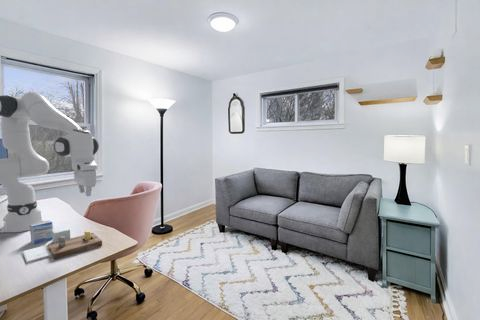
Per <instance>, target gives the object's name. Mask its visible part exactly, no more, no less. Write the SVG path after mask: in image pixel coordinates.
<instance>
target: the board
mask: <svg viewBox="0 0 480 320" xmlns="http://www.w3.org/2000/svg"><path fill="white" fill-rule="evenodd" d="M101 246H103V241H102V238H100V237H98V236H97V235H96V234H95V233H94V232H91V240H88V241H85V234H84V235H79V236H75V237H70V239H67V240H65V236H61V237H59V238H58V242H55V243H53V242H52V243H48V244H47V247H48V249H49V250H50V252H51V254H52V256H51V257H52V258H53V260H59V259H61V258H66V257H69V256H71V255H74V254H78V253H81V252H85V251H88V250H91V249H95V248H98V247H101Z"/></svg>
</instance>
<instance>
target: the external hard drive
mask: <svg viewBox="0 0 480 320" xmlns="http://www.w3.org/2000/svg"><path fill="white" fill-rule="evenodd" d="M22 255H23V257H25V258H24V259H25V262H26V264H27V263H28V264H31V263H33V262H38V261H40V259H41V260H44V258H45V259H47V257H48V258H51V257H53V256H52V254H51V252H50V250H49V249H48V245H46V244H45V245H41V246H38V247H33V248H30V249H26V250H23V251H22ZM37 260H38V261H37ZM30 262H31V263H30Z"/></svg>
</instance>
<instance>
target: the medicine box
mask: <svg viewBox="0 0 480 320" xmlns="http://www.w3.org/2000/svg"><path fill="white" fill-rule="evenodd" d="M53 226H54V225H53V221H52V220H44V222H40V223H35V224H31V225H30V230H29V232H30V233H29V234H30V242H31V243H32V244H34V245H35V244H39V243H42V242H46V241H49V240H52V230H53V229H54V227H53Z"/></svg>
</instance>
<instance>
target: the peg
mask: <svg viewBox="0 0 480 320" xmlns="http://www.w3.org/2000/svg"><path fill="white" fill-rule="evenodd" d="M91 233H92V232H91V230H86V231H84V235H85V241H88V240H91Z"/></svg>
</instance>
